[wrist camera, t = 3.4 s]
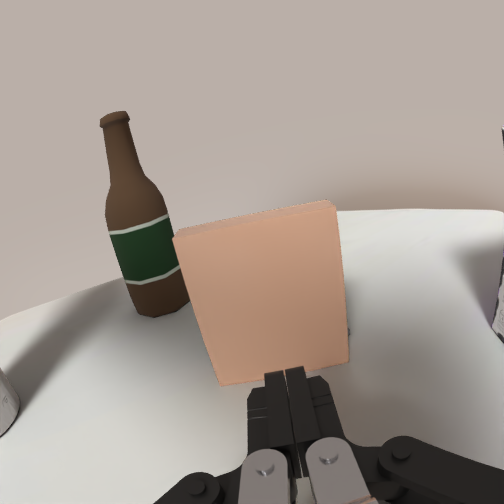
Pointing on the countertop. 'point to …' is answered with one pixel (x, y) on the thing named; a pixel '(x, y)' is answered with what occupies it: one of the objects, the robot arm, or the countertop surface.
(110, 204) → the beer bottle
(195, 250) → the tile
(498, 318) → the candy box
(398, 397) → the countertop surface
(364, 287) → the countertop surface
